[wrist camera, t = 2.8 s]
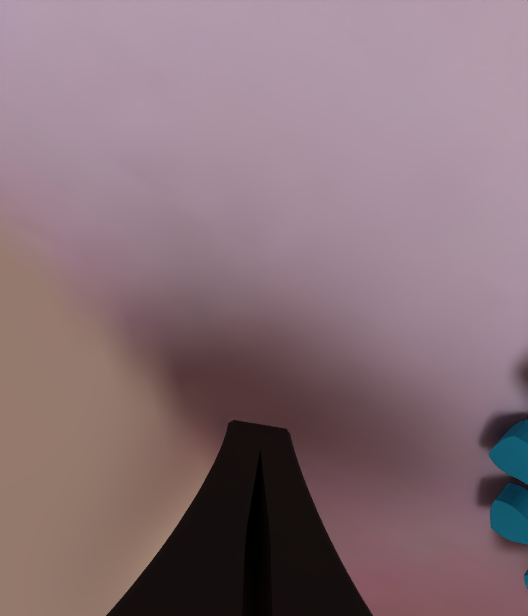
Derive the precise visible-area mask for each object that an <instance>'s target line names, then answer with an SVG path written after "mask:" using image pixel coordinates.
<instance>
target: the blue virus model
mask: <svg viewBox="0 0 528 616" xmlns="http://www.w3.org/2000/svg"><path fill="white" fill-rule="evenodd" d="M489 456H490V458H491V460H492V461H493V462H494V464H495V465H496V466H497V467H498V468H500V469H501V470H502V471H504V472H505V473H507V474H509V475H511V476H513V477H515V478H517V479H519V480H520V481H522V482H524V483H525V484H527V485H528V419H526V420H523V421H520V422H518V423H516V424H515V425H513V426H512V427H511V428H510V429H509V430H508V431H507V432H506V433H505V434H504V436H503V437H502V438H501V439H500V440H499V442H498V443H497V444H496V445H495V446H494V448H493V449H492V450H491V451H490V452H489ZM490 521H491V528H492V529H493V530H494V531H495V532H497V533H498V534H499V535H501V536H502V537H504V538H506V539H508V540H510V541H513V542H518V543H523V544H527V545H528V490H526V489H525V488H523V487H521V486H519V485H516V484H512V483H508V484H507V485H506V486H505V488H504V489H503V490H502V492H501V493H500V494H499V496H498V497H497V498H496V500H495V501H494V503H493V504H492V507H491V510H490ZM524 580H525V584H526V586H527V589H528V570H527V571H526V573H525V575H524Z"/></svg>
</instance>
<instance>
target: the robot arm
mask: <svg viewBox="0 0 528 616" xmlns="http://www.w3.org/2000/svg"><path fill="white" fill-rule="evenodd" d="M106 616H373V615H372V613H371V612H370V610H369V609H368V607H367V605H366V604H365V602H364V600H363V599H362V597H361V595H360V594H359V592H358V590H357V589H356V587H355V585H354V583H353V582H352V580H351V578H350V576H349V575H348V573H347V571H346V569H345V567H344V565H343V564H342V562H341V560H340V558H339V556H338V554H337V552H336V550H335V548H334V546H333V544H332V542H331V540H330V538H329V536H328V534H327V532H326V530H325V527H324V525H323V523H322V521H321V519H320V516H319V514H318V512H317V509H316V507H315V505H314V502H313V500H312V497H311V495H310V493H309V490H308V488H307V485H306V483H305V480H304V477H303V475H302V472H301V469H300V466H299V463H298V460H297V457H296V454H295V451H294V448H293V444H292V440H291V436H290V433H289V432H288V430H287V429H284V428H278V427H272V426H266V425H260V424H254V423H248V422H242V421H236V420H233V421H231V422H230V423H228V428H227V432H226V435H225V438H224V441H223V444H222V446H221V449H220V451H219V453H218V455H217V458H216V460H215V462H214V464H213V466H212V468H211V470H210V472H209V473H208V475H207V477H206V479H205V481H204V483H203V485H202V487H201V488H200V490H199V492H198V493H197V495H196V497H195V498H194V500H193V501H192V503H191V505H190V506H189V508H188V509H187V511H186V513H185V514H184V516H183V517H182V519H181V520H180V522H179V524H178V525H177V527H176V528H175V529H174V531H173V533H172V534H171V535H170V537H169V538H168V539H167V541H166V542H165V544H164V545H163V546H162V548H161V549H160V551H159V552H158V553H157V554H156V556H155V557H154V558H153V560H152V561H151V562H150V564H149V565H148V566H147V567H146V569H145V570H144V571H143V572H142V574H141V575H140V576H139V577H138V579H137V580H136V581H135V582H134V584H133V585H132V586H131V587H130V589H129V590H128V591H127V592H126V594H125V595H124V596H123V597H122V598H121V599H120V601H119V602H118V603H117V604H116V605H115V606H114V608H113V609H112V610H111V611H110V612H109V613H108V614H107V615H106Z"/></svg>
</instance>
